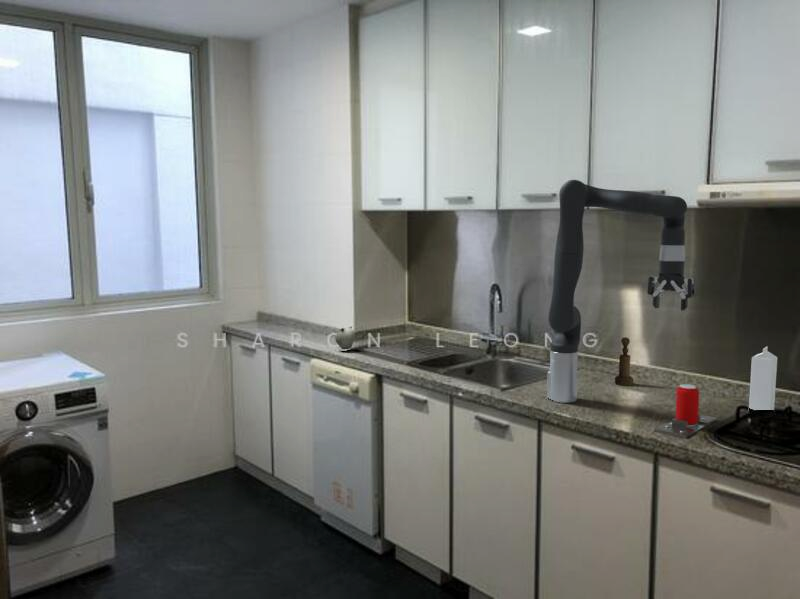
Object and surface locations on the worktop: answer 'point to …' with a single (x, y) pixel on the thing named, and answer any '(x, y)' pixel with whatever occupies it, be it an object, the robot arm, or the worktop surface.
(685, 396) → the beverage can
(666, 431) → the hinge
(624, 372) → the brown wooden figurine
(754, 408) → the milk
